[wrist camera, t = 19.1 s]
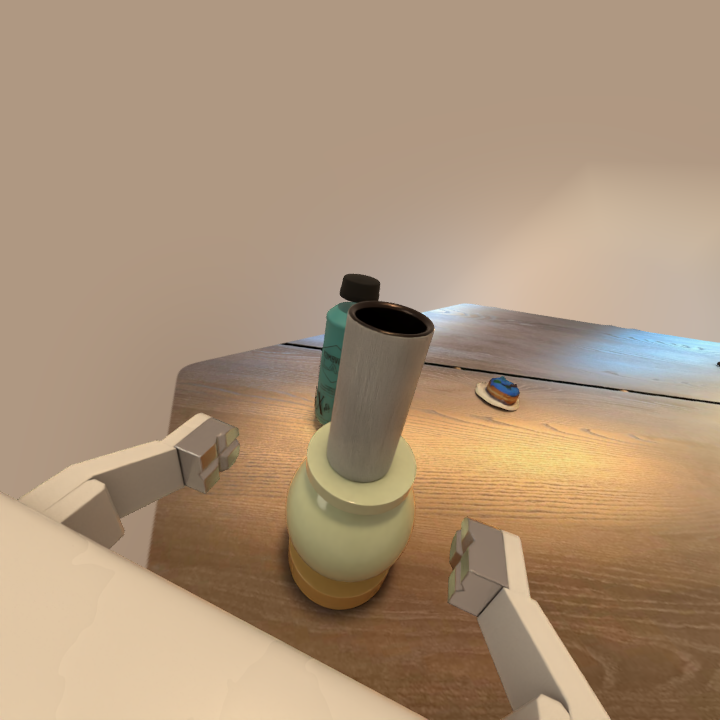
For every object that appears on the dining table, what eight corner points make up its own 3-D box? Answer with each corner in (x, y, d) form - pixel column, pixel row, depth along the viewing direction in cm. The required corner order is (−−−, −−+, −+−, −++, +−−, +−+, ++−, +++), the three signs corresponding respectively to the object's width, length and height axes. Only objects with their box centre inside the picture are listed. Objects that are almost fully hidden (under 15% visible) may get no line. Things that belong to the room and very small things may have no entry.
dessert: (530, 412, 49) (522, 383, 46) (490, 425, 50) (480, 398, 48) (511, 387, 56) (502, 362, 54) (476, 399, 57) (467, 375, 55)
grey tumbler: (328, 428, 22) (348, 295, 17) (387, 434, 22) (424, 307, 17) (323, 480, 18) (348, 328, 13) (395, 486, 19) (446, 341, 13)
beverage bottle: (320, 402, 43) (338, 264, 33) (364, 414, 43) (396, 276, 33) (304, 432, 37) (320, 276, 28) (355, 446, 37) (389, 292, 27)
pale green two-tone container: (402, 620, 23) (453, 532, 17) (269, 615, 21) (272, 518, 16) (388, 500, 31) (418, 414, 25) (293, 492, 30) (300, 400, 24)
